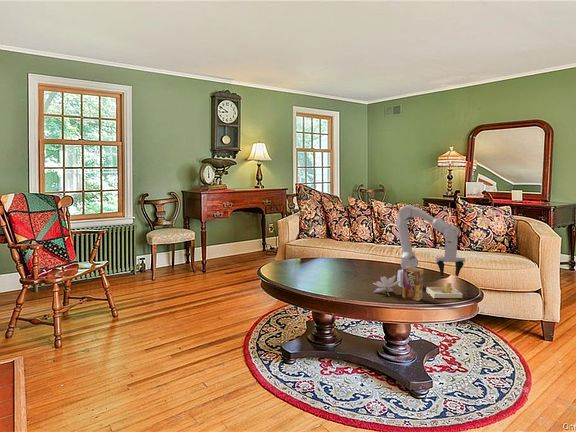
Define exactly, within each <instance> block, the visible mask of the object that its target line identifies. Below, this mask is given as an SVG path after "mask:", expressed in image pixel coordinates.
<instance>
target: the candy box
mask: <svg viewBox="0 0 576 432" xmlns="http://www.w3.org/2000/svg"><path fill="white" fill-rule="evenodd" d="M423 283H424V269H423V268H419V267H416V268H413V267H404V268H403V287H402V294H401V295H402V296H401V297H402V298H403V299H408V300H413V301H416V302H417V301H418V302H420V301H421V299H423V288H424V287H423V286H424V284H423Z"/></svg>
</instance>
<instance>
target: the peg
mask: <svg viewBox="0 0 576 432" xmlns="http://www.w3.org/2000/svg"><path fill="white" fill-rule="evenodd" d="M443 287H444V293H451V287H452V283H451V282H445V283H444V286H443Z"/></svg>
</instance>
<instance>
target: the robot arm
mask: <svg viewBox="0 0 576 432" xmlns="http://www.w3.org/2000/svg"><path fill="white" fill-rule="evenodd" d="M397 214H398V215H397V219H396V225H397V231H398V232H397V233H398V237H399V242H400V246H401V247H400V249H401V251H402V255H401V257H400V266H401V269H398V270H397V275H396V277H397V278H396V279H397V281H401V282H400V283H399V284H397V285H398V286H399V287H400V288H403V268H404V267H413V268H418V265H419V260H418V259H417V257H416V254H415V252H414V251H413V247H412V242H411V237H410V231H409V227H408V223H409V221H410V220H411V219H413V218H419V219H421V220H424V221H426V222H427V223H429V224H431V226H432V228H433V229H435V230H436V231H438V232H440V233H441V234H443V235H444V236H445V243H444V245H445V246H444V256H441V257H439V256H438V257H435V259H434V260H435V262H436V264H437V266H438V269H439V273H440V276H441V277H443V276H444V274H445V273H444V271H445V264H446V263H447V262H448V263H455V273H454V274H455V276H456V277H459V275H460V272H461V270H462V267H463V266H464V264H465V263H466V258H464V257H458V255H457V254H458V253H457V252H458V251H457V250H458V235H459V234H460V228H458V227H457V226H456V225H452V224H451V223H448V222H446V221H445V220H444V218H442V217H441V218H435V217H433V216H432V215H430V214H429V213H427V212H425V211H424V210H423V209H421V208H419V207H418V206H416V205H413V204H411V205H404V206H402V207H400V209H399V210H398V213H397Z"/></svg>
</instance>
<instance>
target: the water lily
mask: <svg viewBox="0 0 576 432" xmlns="http://www.w3.org/2000/svg"><path fill="white" fill-rule="evenodd" d="M396 277H397V275H393V276H392V277H389V278H387V276H385V275H384V276H380V281H376V282H373V283H372V284H373V285H375V286H377V287H378V288H375V290H374V291H373V293H379V292H382V291H384V290H386V292H387V295H388V297H390V296H391V295H390V293H389V292H392V293H393V287H395V286H397V285H398V284H399V283H400V282H401V281H395V279H396Z"/></svg>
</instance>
